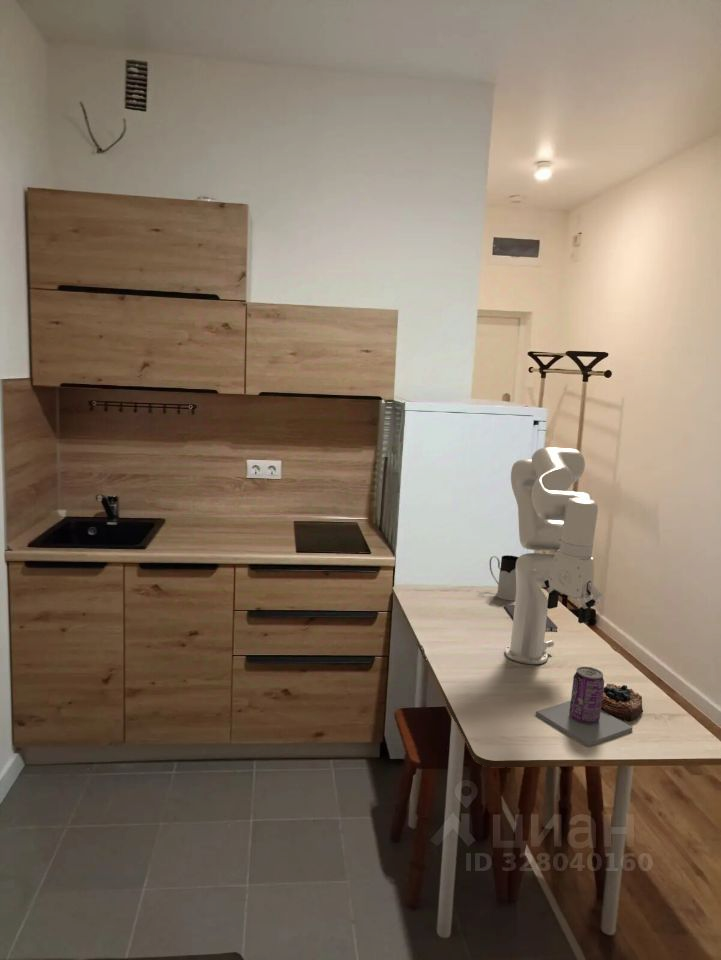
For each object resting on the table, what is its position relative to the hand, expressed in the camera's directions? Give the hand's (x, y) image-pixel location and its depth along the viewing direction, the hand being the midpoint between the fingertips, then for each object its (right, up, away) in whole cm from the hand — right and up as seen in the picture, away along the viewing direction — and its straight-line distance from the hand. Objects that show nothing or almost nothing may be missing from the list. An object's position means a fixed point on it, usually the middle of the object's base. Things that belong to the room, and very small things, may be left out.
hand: (567, 614), depth 168 cm
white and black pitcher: (+3, -10, +91) cm, 92 cm away
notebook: (+7, -15, +67) cm, 69 cm away
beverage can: (+3, -25, -2) cm, 25 cm away
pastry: (+15, -26, +6) cm, 30 cm away
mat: (+3, -26, -3) cm, 26 cm away
